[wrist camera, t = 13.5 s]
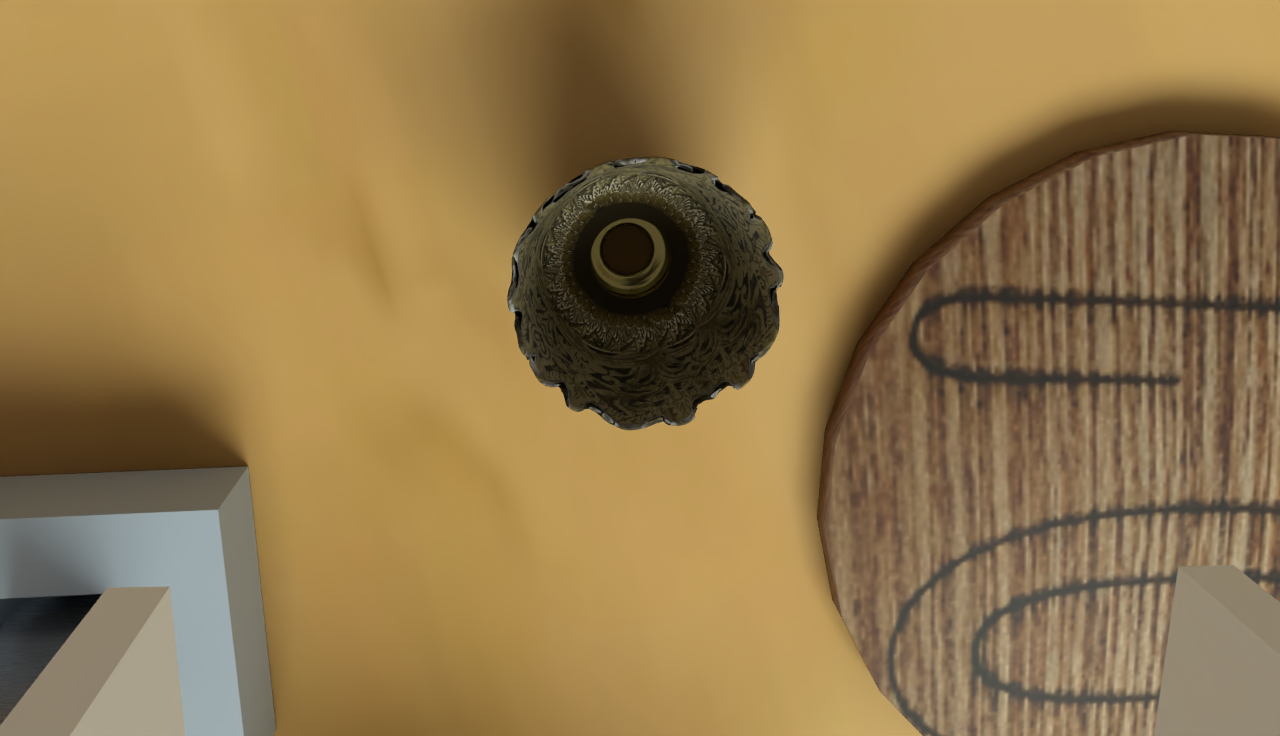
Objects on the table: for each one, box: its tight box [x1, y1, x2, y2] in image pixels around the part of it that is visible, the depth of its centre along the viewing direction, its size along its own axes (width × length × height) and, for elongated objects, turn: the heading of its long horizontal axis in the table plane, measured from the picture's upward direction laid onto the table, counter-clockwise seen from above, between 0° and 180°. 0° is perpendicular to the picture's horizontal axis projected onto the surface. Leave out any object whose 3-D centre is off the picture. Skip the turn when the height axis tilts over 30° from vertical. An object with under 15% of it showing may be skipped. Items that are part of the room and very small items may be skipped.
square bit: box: [0, 594, 102, 725], centre depth 36 cm, size 3×3×12 cm
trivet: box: [817, 131, 1280, 736], centre depth 44 cm, size 25×25×2 cm
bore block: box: [0, 466, 276, 736], centre depth 40 cm, size 10×10×4 cm
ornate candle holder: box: [507, 157, 784, 430], centre depth 37 cm, size 8×7×8 cm
